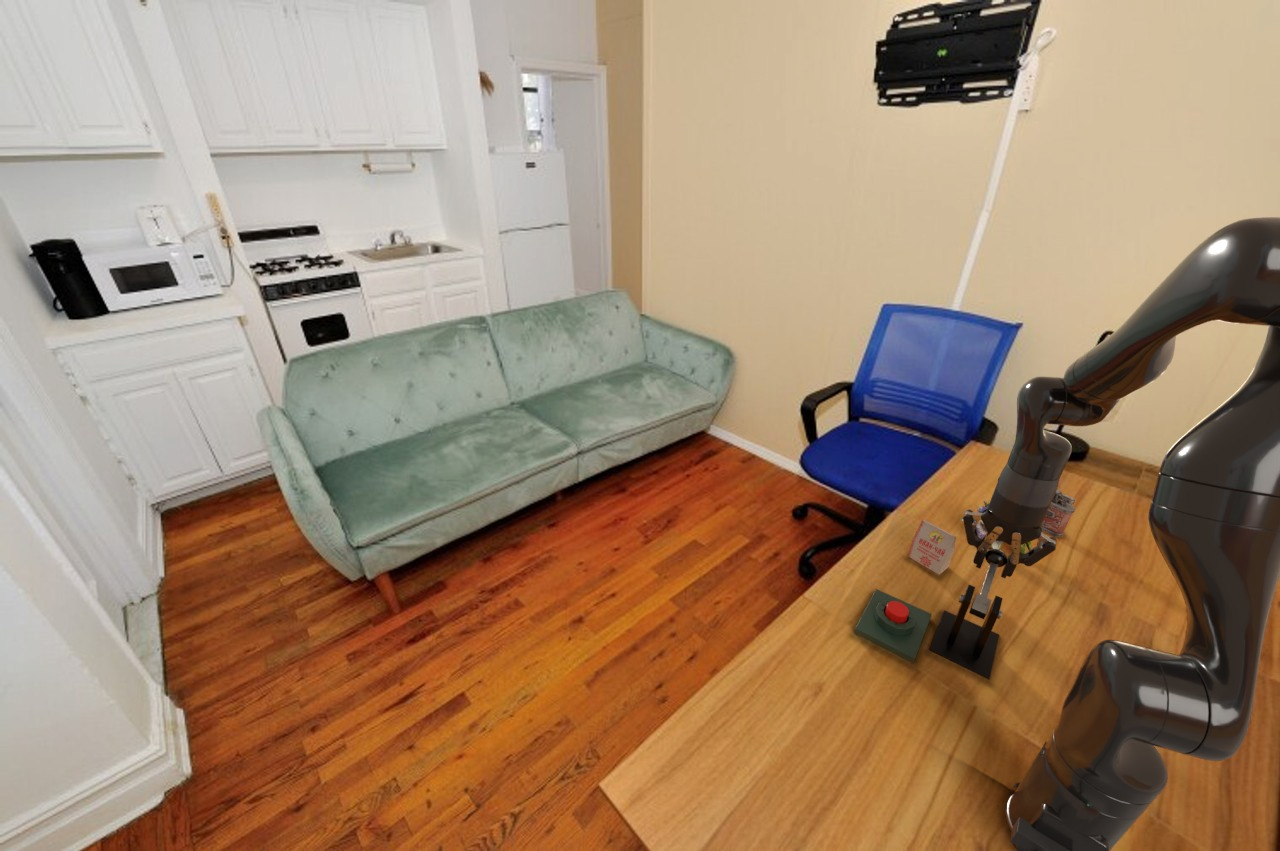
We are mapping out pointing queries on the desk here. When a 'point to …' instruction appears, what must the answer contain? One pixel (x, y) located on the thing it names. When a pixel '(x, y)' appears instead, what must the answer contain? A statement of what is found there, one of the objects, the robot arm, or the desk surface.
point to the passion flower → (997, 544)
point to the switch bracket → (968, 637)
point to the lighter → (1058, 514)
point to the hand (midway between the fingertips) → (991, 569)
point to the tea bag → (932, 547)
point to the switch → (987, 583)
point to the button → (896, 612)
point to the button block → (893, 627)
